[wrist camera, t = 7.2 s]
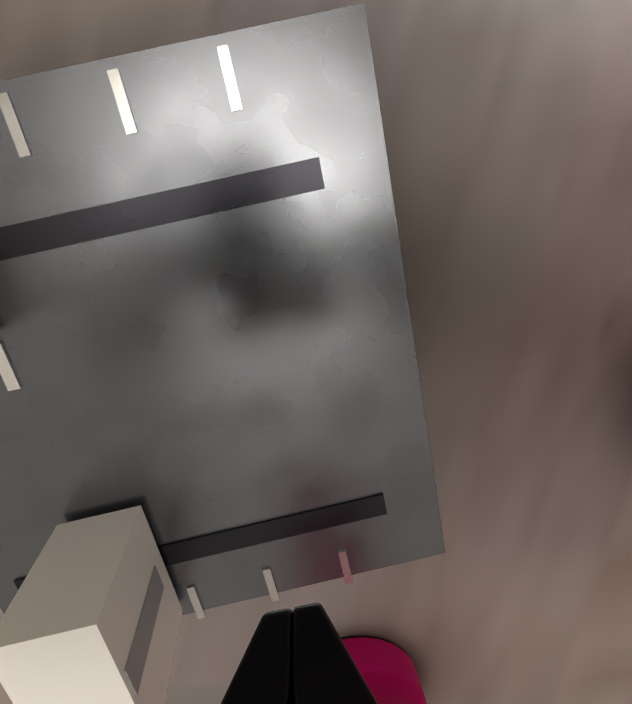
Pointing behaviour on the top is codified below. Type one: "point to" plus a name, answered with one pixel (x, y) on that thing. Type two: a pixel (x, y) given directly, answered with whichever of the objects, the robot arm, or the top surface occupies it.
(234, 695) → the robot arm
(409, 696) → the pepper mill
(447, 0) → the top surface
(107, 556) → the fader plain
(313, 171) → the mixer panel
